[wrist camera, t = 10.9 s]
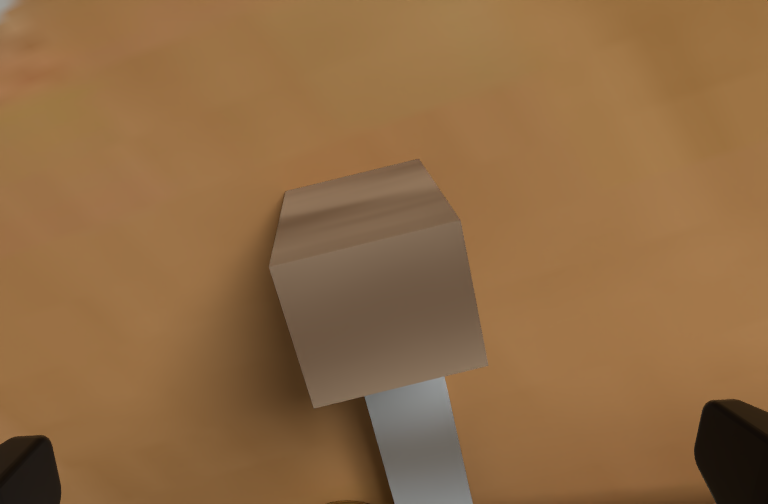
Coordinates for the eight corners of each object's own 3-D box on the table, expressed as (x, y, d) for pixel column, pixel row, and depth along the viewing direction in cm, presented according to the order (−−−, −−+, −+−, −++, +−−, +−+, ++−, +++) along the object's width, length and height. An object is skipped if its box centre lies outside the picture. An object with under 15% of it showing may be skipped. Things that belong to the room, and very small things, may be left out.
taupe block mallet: (501, 551, 24) (555, 714, 18) (398, 576, 24) (421, 747, 18) (418, 158, 18) (460, 219, 13) (285, 191, 18) (269, 266, 13)
